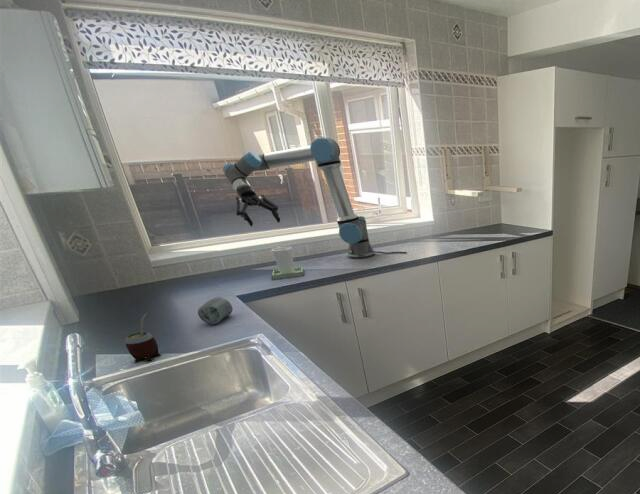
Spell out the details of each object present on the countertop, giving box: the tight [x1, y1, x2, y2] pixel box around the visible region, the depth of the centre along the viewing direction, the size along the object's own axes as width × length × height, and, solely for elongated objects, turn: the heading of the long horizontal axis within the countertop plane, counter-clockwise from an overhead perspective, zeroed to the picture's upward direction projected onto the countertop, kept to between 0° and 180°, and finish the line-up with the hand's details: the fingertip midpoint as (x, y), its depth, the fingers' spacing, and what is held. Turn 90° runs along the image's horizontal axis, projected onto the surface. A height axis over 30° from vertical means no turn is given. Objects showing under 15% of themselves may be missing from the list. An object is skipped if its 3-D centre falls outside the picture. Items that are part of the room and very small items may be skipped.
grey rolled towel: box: [197, 296, 234, 326], centre depth 160 cm, size 14×10×10 cm
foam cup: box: [270, 246, 295, 274], centre depth 217 cm, size 10×9×13 cm
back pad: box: [271, 266, 304, 280], centre depth 220 cm, size 14×12×2 cm
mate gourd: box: [124, 311, 161, 363], centre depth 129 cm, size 8×8×15 cm
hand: (265, 222), depth 215 cm, fingers open, 13 cm apart
